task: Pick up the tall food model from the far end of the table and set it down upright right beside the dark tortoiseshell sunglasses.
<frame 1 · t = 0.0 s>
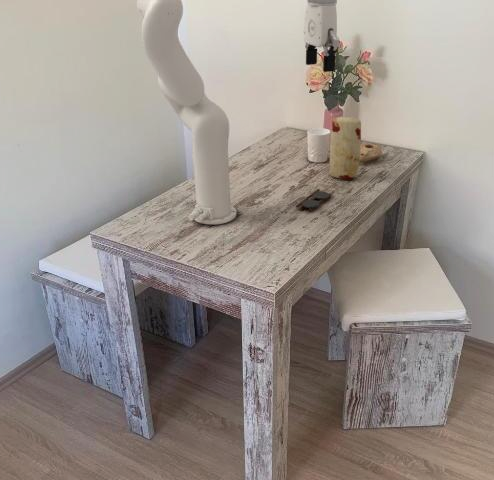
hand: (319, 67, 156), 37 cm above the table, tool pointing down, fingers open, 9 cm apart
white cup: (317, 160, 202), on the table
pottery oil lamp: (365, 161, 201), on the table
sunglasses: (315, 202, 171), on the table
food model: (343, 178, 188), on the table
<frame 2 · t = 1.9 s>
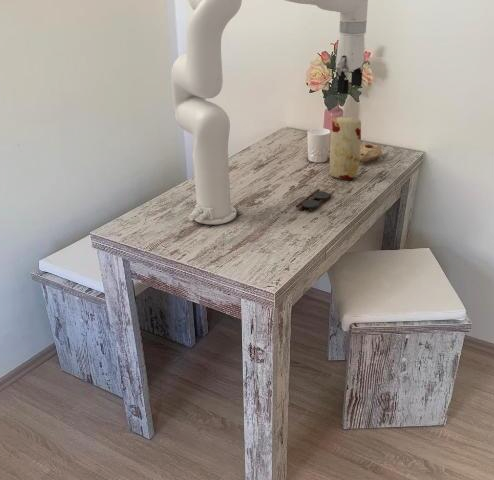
hand: (349, 89, 173), 28 cm above the table, tool pointing down, fingers open, 9 cm apart
nothing on the table moved.
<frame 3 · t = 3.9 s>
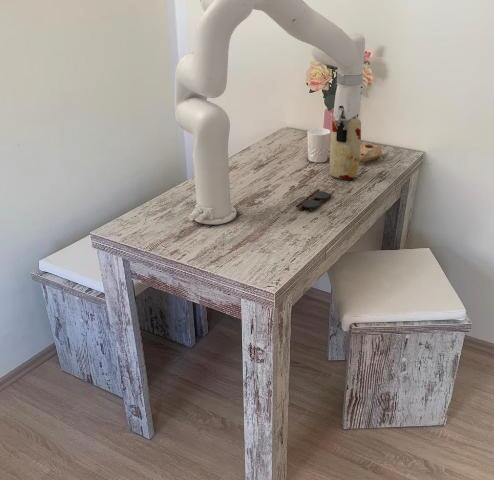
hand: (346, 137, 181), 13 cm above the table, tool pointing down, fingers closed on food model, 6 cm apart
food model: (343, 178, 188), on the table, touching gripper
everything else where it was.
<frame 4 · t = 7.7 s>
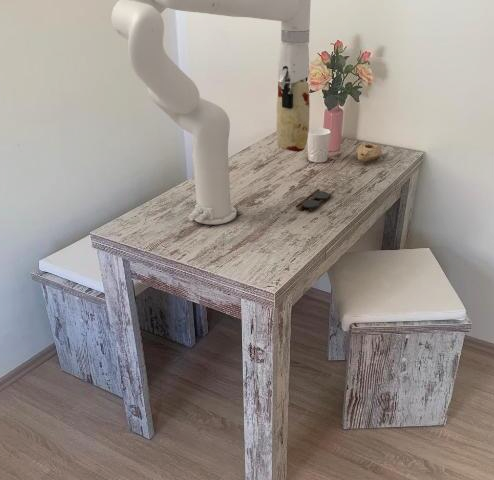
hand: (293, 104, 163), 27 cm above the table, tool pointing down, fingers closed on food model, 6 cm apart
food model: (292, 150, 170), point 14 cm above the table, touching gripper
everything else where it was.
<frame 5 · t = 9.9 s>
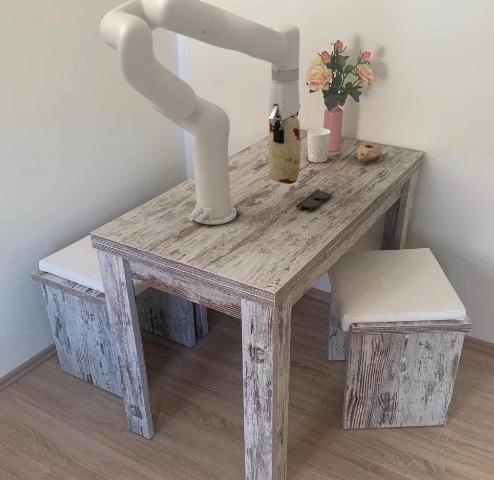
hand: (285, 138, 166), 18 cm above the table, tool pointing down, fingers closed on food model, 6 cm apart
food model: (284, 182, 174), point 4 cm above the table, touching gripper
everything else where it was.
when the fingers open (13 cm above the table, at t = 11.5 s): food model stays where it is, on the table.
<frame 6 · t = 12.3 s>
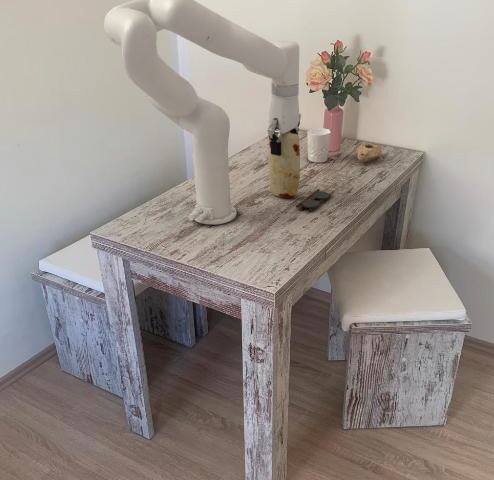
hand: (284, 149, 168), 14 cm above the table, tool pointing down, fingers open, 9 cm apart
food model: (284, 196, 176), on the table
everything else where it was.
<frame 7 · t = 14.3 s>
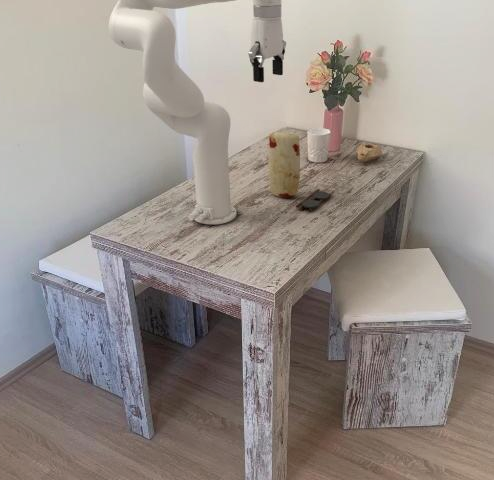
hand: (268, 78, 164), 33 cm above the table, tool pointing down, fingers open, 9 cm apart
nothing on the table moved.
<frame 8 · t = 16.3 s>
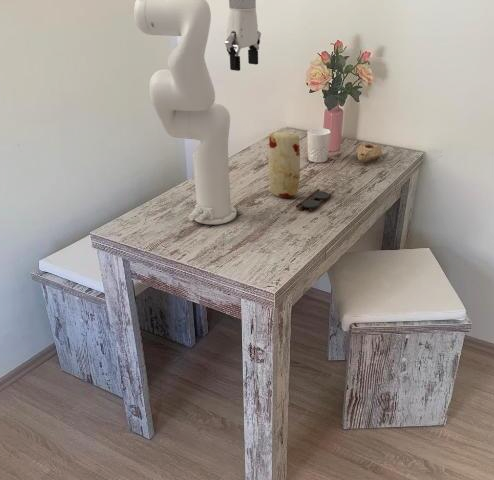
hand: (244, 67, 172), 34 cm above the table, tool pointing down, fingers open, 9 cm apart
nothing on the table moved.
at the end: food model inside the target area on the table beside the sunglasses (0.5 cm from its centre), on the table; food model tilted 0°; food model moved 24.1 cm from its start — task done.
